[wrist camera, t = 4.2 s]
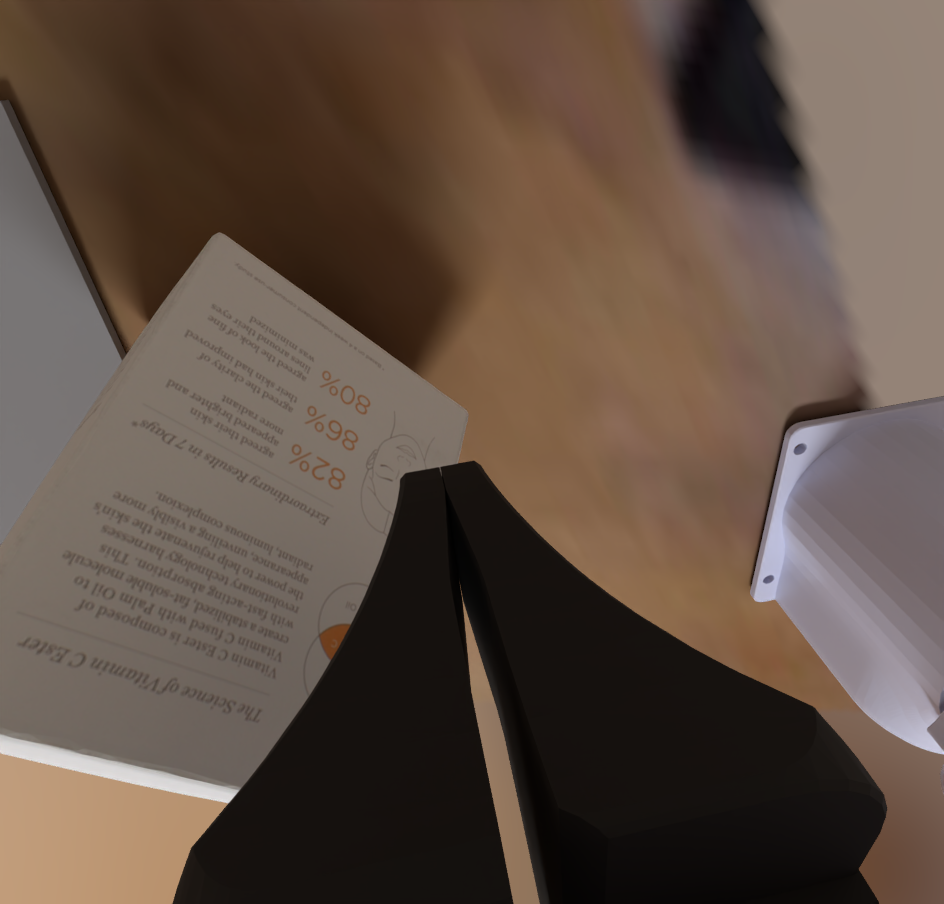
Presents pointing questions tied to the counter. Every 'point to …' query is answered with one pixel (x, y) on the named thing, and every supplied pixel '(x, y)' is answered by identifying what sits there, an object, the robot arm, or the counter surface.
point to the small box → (208, 533)
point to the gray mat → (42, 327)
